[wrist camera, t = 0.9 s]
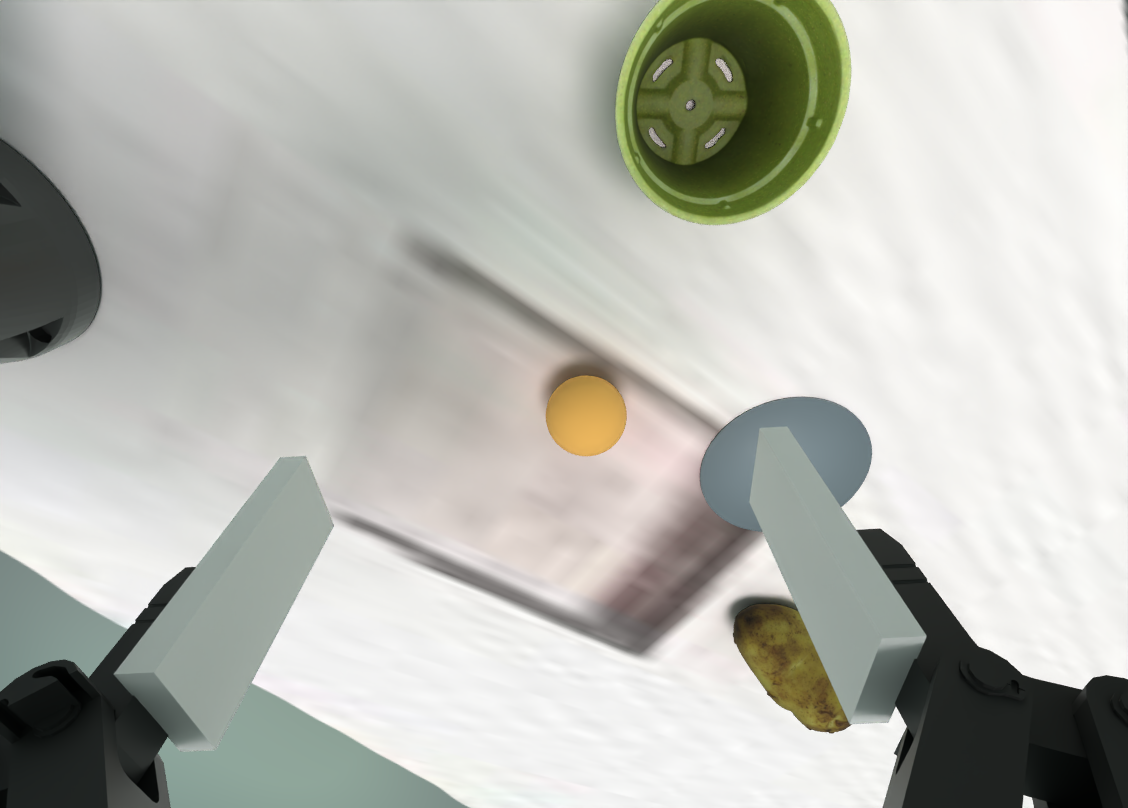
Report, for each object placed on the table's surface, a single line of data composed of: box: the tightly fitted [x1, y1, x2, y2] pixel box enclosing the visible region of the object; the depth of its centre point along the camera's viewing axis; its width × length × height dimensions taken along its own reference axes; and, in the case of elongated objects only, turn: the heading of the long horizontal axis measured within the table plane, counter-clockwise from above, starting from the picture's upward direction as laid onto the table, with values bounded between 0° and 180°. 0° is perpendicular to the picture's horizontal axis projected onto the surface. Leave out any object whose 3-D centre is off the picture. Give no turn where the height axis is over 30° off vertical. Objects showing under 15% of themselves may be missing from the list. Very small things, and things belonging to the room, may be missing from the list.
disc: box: [700, 397, 872, 532], centre depth 41 cm, size 13×13×1 cm
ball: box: [546, 375, 627, 456], centre depth 36 cm, size 6×6×6 cm
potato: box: [733, 604, 852, 733], centre depth 47 cm, size 8×13×8 cm, turn 31°
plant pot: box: [615, 0, 851, 225], centre depth 25 cm, size 9×9×9 cm
